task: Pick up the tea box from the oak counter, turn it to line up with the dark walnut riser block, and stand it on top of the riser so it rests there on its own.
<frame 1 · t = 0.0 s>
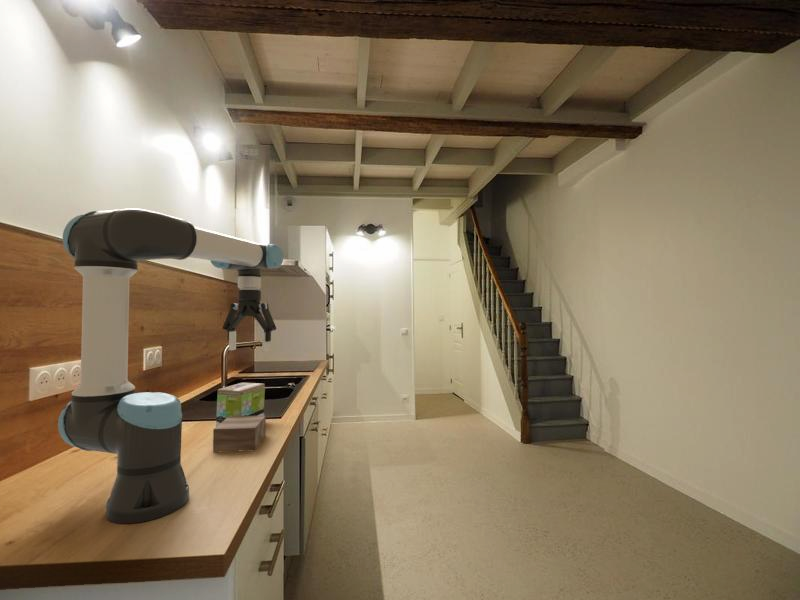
hand: (248, 350, 137), 28 cm above the table, tool pointing down, fingers open, 13 cm apart
walnut riser: (240, 444, 125), on the table
tea box: (241, 427, 143), on the table
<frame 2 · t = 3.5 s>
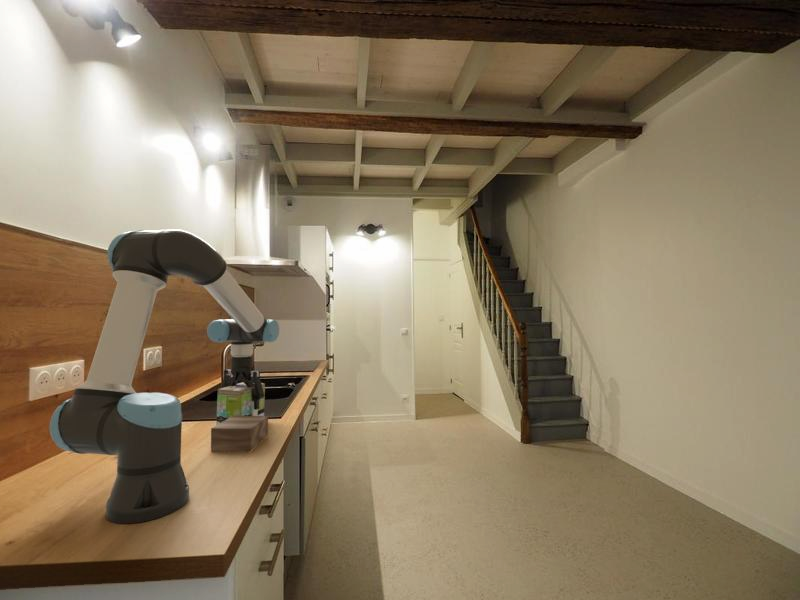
hand: (241, 417, 143), 3 cm above the table, tool pointing down, fingers closed on tea box, 10 cm apart
tea box: (241, 427, 143), on the table, touching gripper
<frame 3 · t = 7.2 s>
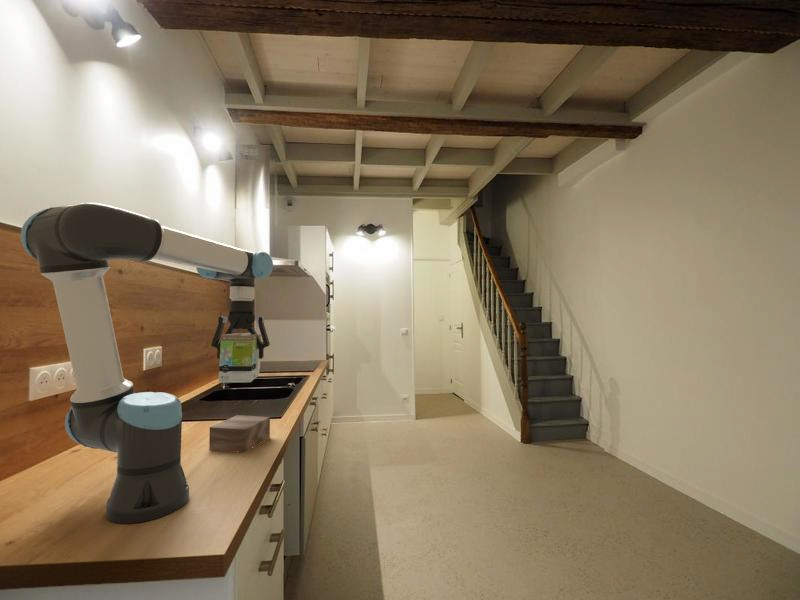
hand: (240, 369, 128), 23 cm above the table, tool pointing down, fingers closed on tea box, 10 cm apart
tea box: (240, 380, 127), point 20 cm above the table, touching gripper
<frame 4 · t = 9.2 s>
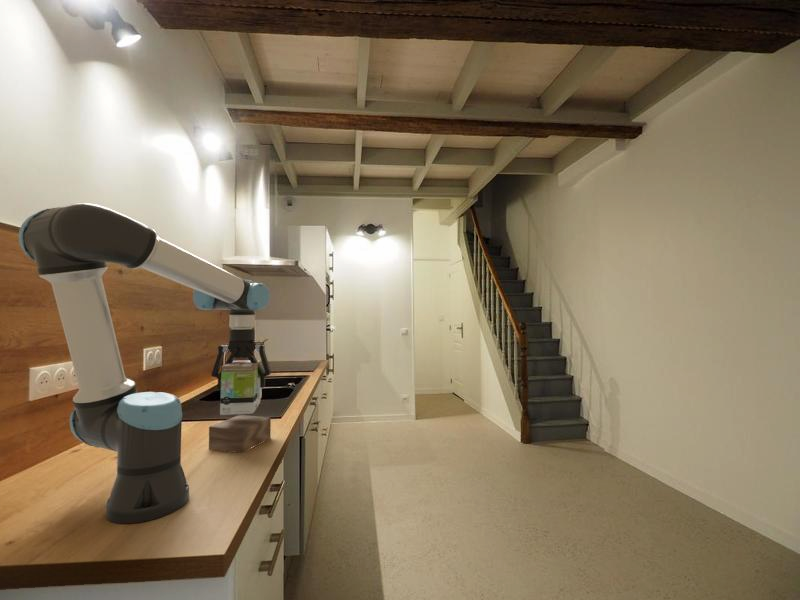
hand: (241, 398, 125), 14 cm above the table, tool pointing down, fingers closed on tea box, 10 cm apart
tea box: (241, 409, 125), point 11 cm above the table, touching gripper
when the fingers open (12 cm above the table, at t = 10.7 s): tea box drops 2 cm, point 7 cm above the table.
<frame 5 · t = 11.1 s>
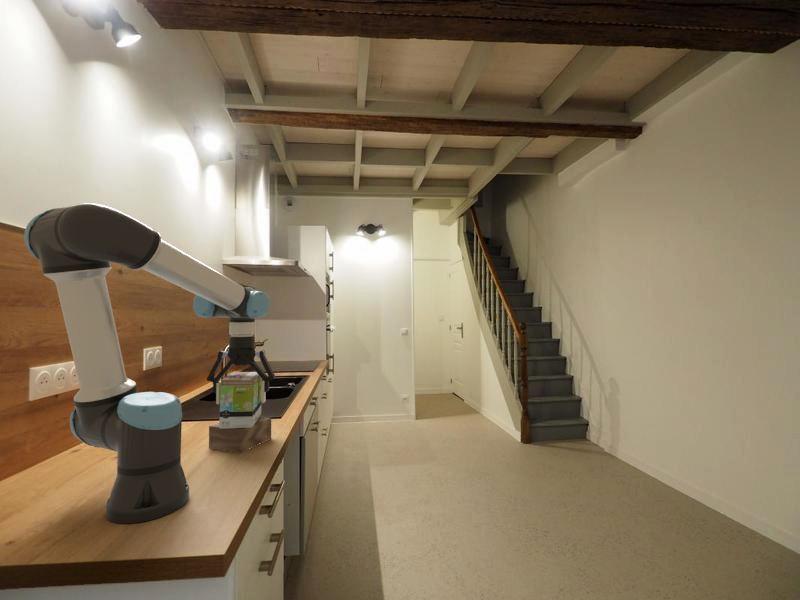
hand: (241, 402, 125), 13 cm above the table, tool pointing down, fingers open, 13 cm apart
tea box: (241, 422, 125), point 7 cm above the table
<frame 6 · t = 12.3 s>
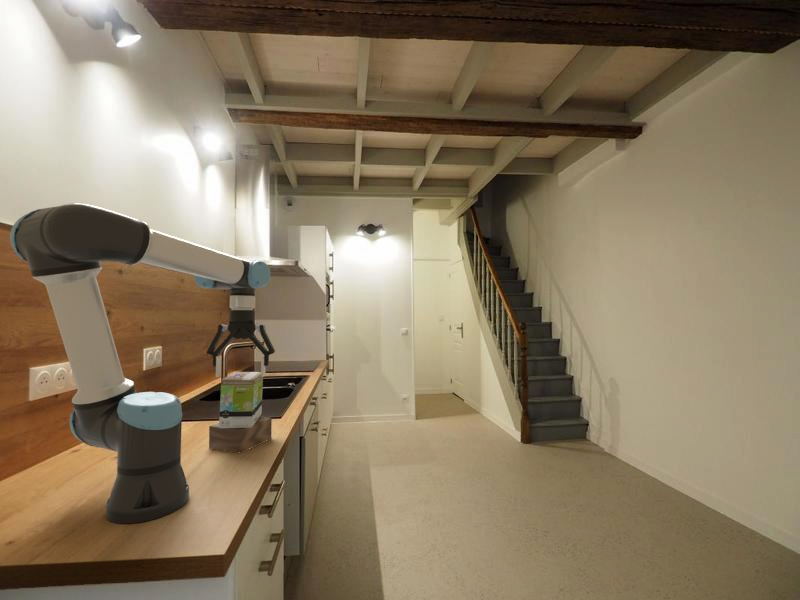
hand: (240, 376, 125), 21 cm above the table, tool pointing down, fingers open, 13 cm apart
nothing on the table moved.
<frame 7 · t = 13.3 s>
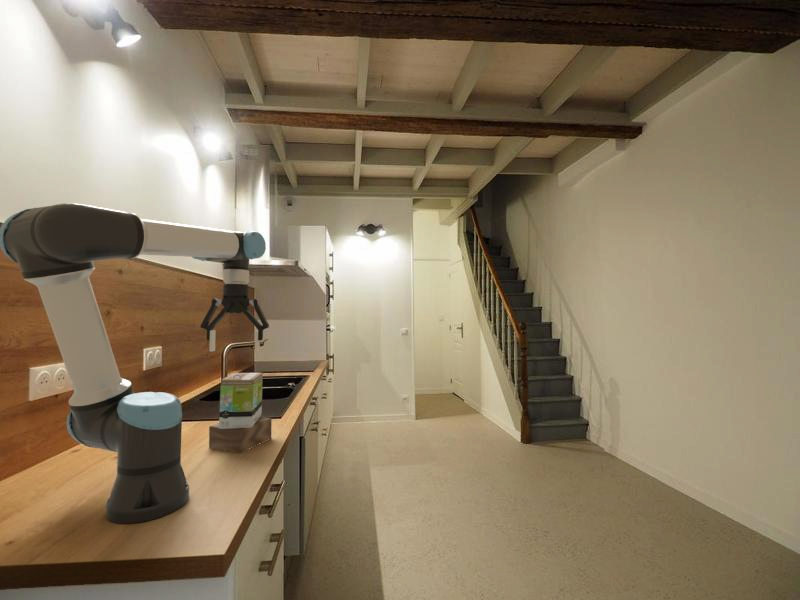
hand: (234, 351, 124), 29 cm above the table, tool pointing down, fingers open, 13 cm apart
walnut riser: (241, 444, 125), on the table, touching tea box
tea box: (241, 422, 125), point 6 cm above the table, touching walnut riser
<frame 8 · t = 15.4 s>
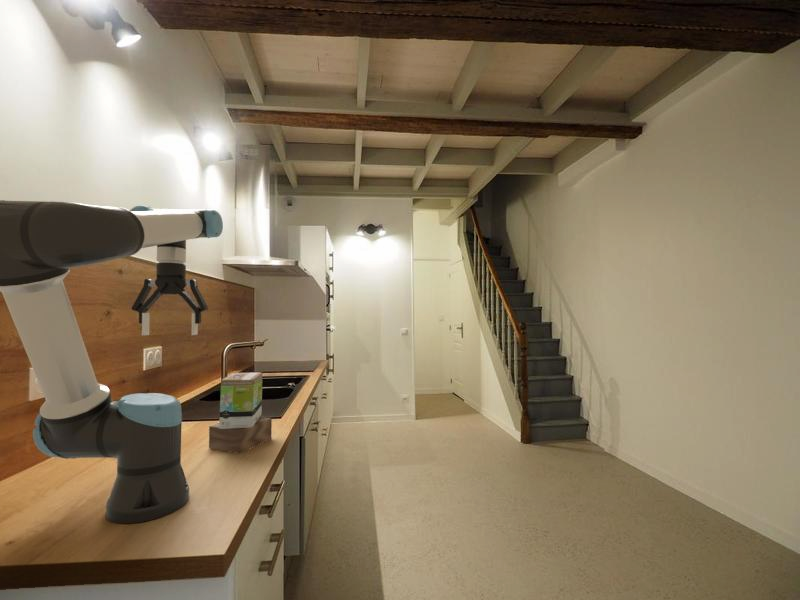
hand: (170, 335, 116), 35 cm above the table, tool pointing down, fingers open, 13 cm apart
nothing on the table moved.
at the end: tea box inside the target area on the walnut riser (0.2 cm from its centre), point 6.8 cm above the walnut riser's base; tea box tilted 0°; tea box touching walnut riser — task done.
